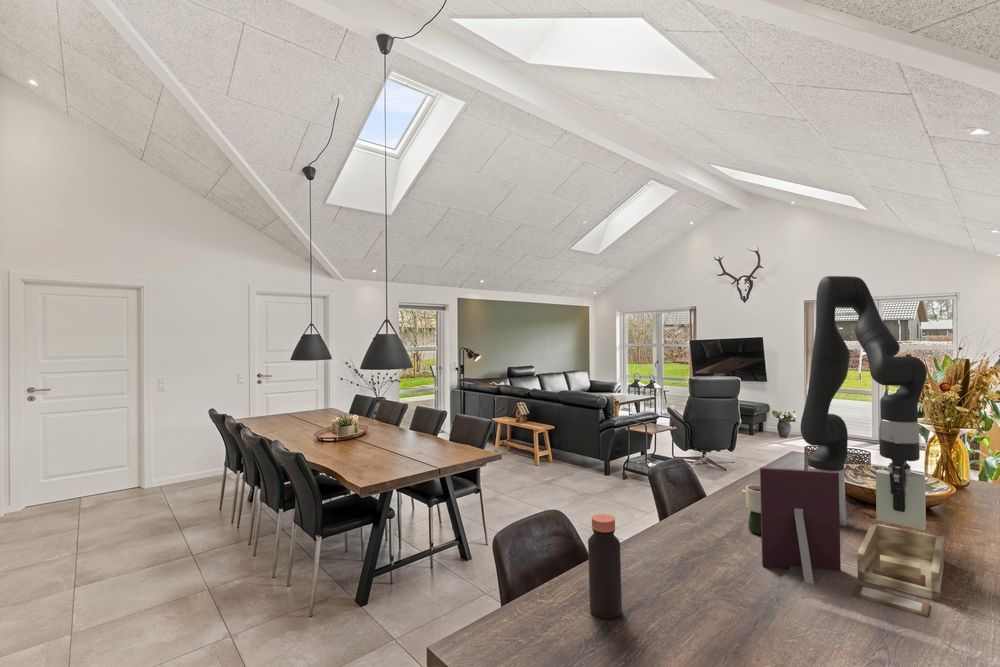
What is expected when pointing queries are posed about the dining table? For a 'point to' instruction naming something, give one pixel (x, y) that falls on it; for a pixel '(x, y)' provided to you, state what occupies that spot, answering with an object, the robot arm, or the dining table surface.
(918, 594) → the tray
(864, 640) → the dining table surface
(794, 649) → the dining table surface
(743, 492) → the character mug
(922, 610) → the board
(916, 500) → the pale green slanted prism
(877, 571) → the offcut lower
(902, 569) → the offcut upper
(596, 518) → the bottle
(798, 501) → the picture frame
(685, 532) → the dining table surface
